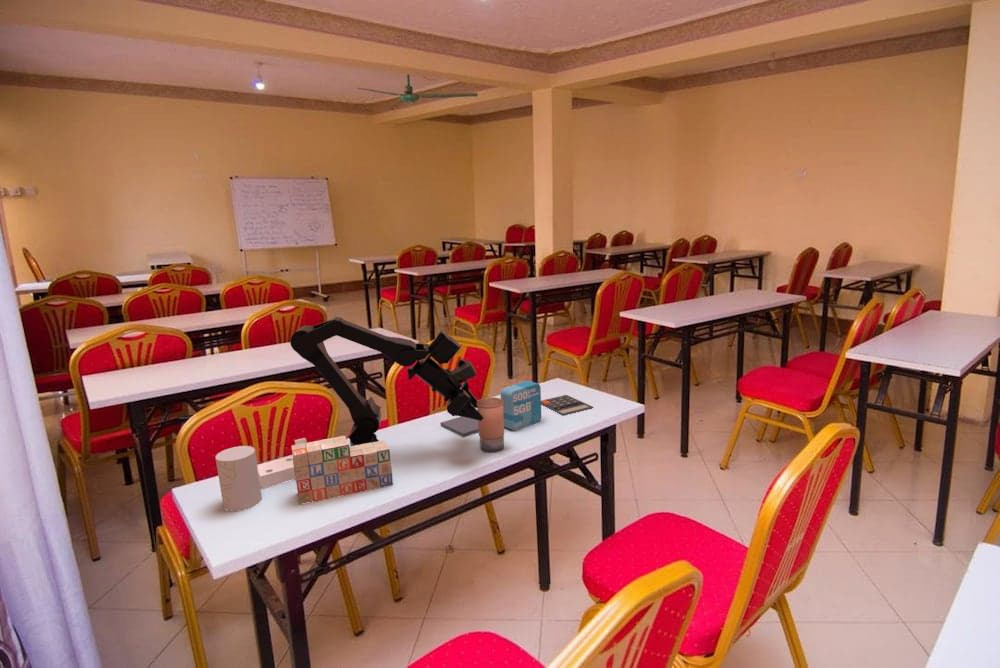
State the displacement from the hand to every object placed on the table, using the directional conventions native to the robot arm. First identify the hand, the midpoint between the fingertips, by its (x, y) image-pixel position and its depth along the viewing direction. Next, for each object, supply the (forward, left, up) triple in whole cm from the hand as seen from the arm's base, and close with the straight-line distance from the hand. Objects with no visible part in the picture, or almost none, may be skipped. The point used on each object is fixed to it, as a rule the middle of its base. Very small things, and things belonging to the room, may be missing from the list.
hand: (481, 413), depth 156 cm
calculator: (+38, +13, -11) cm, 42 cm away
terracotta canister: (+2, -1, -6) cm, 7 cm away
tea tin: (+2, -1, -10) cm, 10 cm away
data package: (+18, +8, -10) cm, 22 cm away
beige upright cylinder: (-59, +9, -10) cm, 60 cm away
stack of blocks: (-38, 0, -11) cm, 39 cm away
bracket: (-47, +17, -11) cm, 51 cm away
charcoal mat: (+5, +17, -10) cm, 20 cm away
